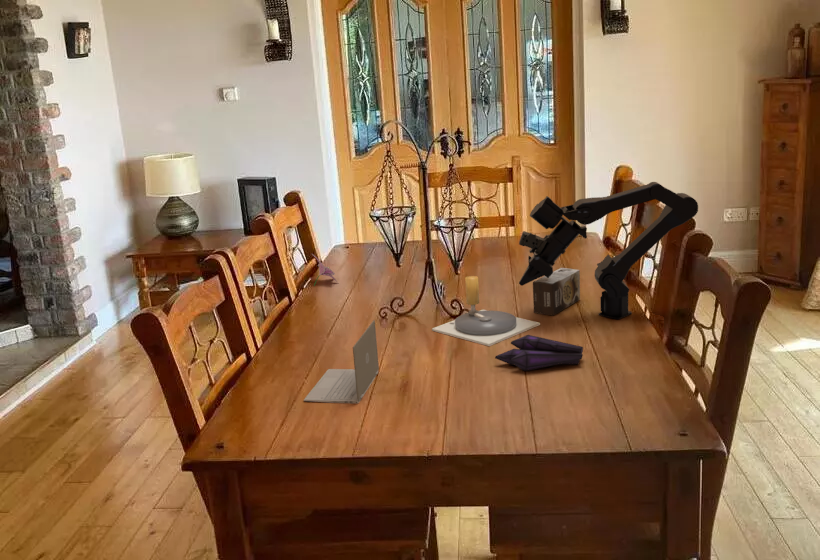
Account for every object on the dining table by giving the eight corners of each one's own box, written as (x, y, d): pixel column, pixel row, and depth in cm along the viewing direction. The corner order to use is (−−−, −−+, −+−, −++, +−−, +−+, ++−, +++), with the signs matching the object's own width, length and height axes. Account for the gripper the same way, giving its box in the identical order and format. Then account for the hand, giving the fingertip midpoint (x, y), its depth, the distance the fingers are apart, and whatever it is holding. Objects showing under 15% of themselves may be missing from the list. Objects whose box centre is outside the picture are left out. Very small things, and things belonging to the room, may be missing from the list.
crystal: (583, 330, 192) (496, 325, 194) (586, 352, 181) (495, 347, 183) (580, 358, 194) (495, 353, 196) (584, 381, 184) (493, 376, 186)
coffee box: (581, 300, 234) (553, 316, 222) (560, 297, 238) (532, 313, 226) (580, 269, 232) (553, 284, 220) (559, 266, 236) (531, 281, 224)
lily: (334, 292, 264) (344, 264, 264) (299, 280, 264) (309, 251, 264) (336, 293, 276) (346, 266, 276) (302, 281, 276) (312, 254, 276)
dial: (528, 326, 213) (527, 283, 210) (475, 339, 206) (473, 295, 203) (494, 311, 227) (492, 271, 224) (444, 323, 220) (441, 281, 217)
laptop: (328, 371, 195) (323, 319, 191) (379, 372, 192) (375, 319, 189) (303, 403, 178) (297, 346, 174) (359, 404, 175) (354, 346, 172)
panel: (539, 324, 216) (539, 321, 216) (489, 346, 203) (488, 342, 203) (482, 311, 230) (482, 308, 230) (432, 330, 218) (431, 327, 217)
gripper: (535, 215, 224) (498, 258, 228) (535, 225, 206) (495, 272, 210) (566, 241, 224) (528, 284, 228) (570, 254, 206) (529, 300, 210)
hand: (520, 284), depth 219 cm, fingers closed
